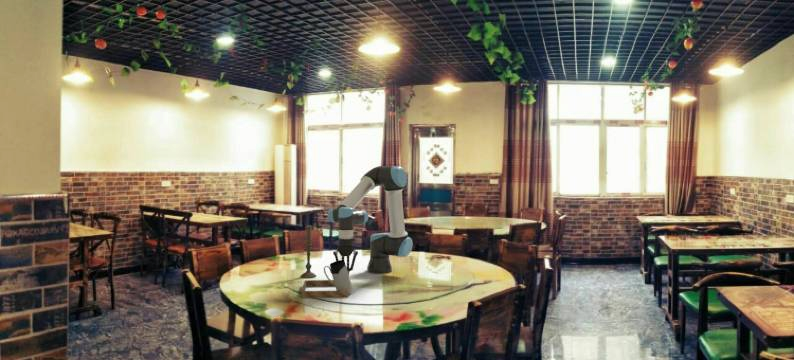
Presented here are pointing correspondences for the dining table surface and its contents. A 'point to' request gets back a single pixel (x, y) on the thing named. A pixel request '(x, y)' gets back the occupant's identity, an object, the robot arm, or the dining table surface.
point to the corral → (321, 293)
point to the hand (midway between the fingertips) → (345, 284)
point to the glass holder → (340, 276)
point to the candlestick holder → (308, 256)
